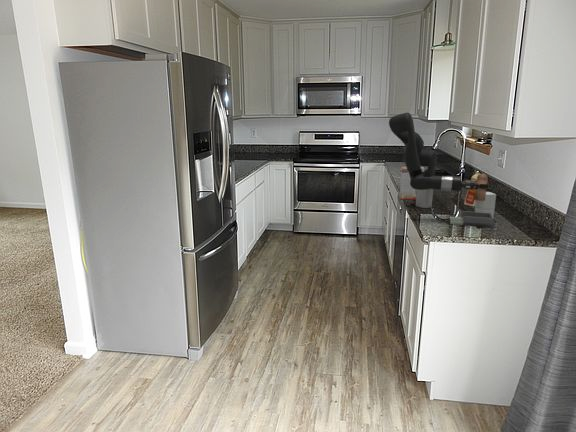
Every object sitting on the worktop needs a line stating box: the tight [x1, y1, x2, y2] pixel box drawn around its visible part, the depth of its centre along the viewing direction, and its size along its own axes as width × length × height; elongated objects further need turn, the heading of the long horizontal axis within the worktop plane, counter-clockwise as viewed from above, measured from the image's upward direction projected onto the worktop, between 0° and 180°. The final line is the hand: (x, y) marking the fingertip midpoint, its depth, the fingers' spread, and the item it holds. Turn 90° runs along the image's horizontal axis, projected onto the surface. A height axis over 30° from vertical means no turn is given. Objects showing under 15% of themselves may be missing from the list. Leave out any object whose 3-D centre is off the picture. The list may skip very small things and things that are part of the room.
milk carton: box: [463, 171, 480, 207], centre depth 250 cm, size 9×9×20 cm
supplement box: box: [474, 191, 497, 216], centre depth 226 cm, size 7×7×13 cm
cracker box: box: [398, 166, 426, 201], centre depth 266 cm, size 14×6×21 cm, turn 84°
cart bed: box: [449, 210, 496, 228], centre depth 212 cm, size 12×20×4 cm, turn 71°
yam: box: [474, 172, 489, 201], centre depth 206 cm, size 5×5×14 cm
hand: (487, 185), depth 205 cm, fingers closed on yam, 5 cm apart
